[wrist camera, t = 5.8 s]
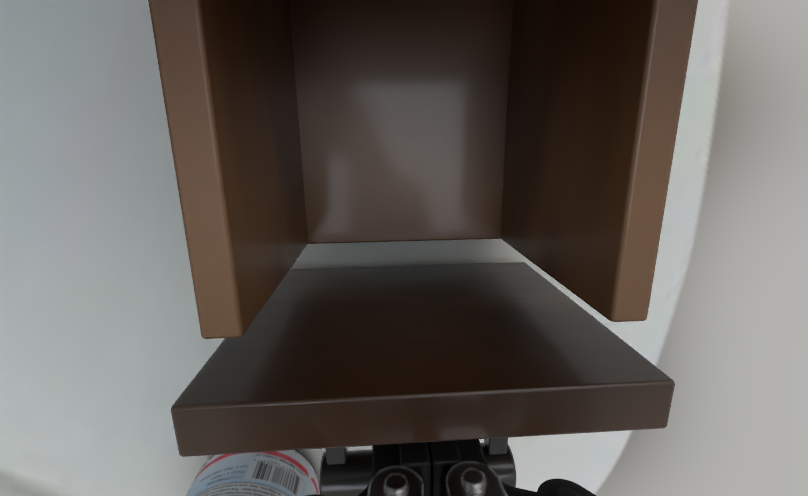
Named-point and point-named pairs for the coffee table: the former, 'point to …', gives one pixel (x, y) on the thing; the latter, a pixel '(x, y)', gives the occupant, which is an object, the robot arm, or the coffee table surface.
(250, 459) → the pill bottle
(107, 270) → the coffee table surface
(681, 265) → the coffee table surface
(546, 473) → the coffee table surface
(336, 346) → the drawer
